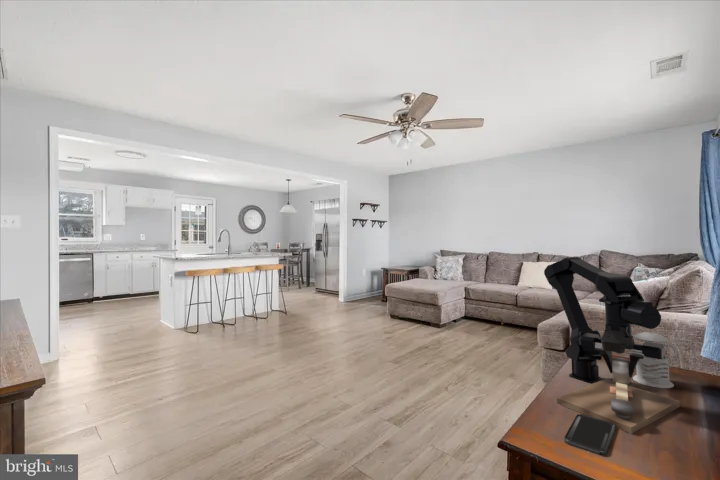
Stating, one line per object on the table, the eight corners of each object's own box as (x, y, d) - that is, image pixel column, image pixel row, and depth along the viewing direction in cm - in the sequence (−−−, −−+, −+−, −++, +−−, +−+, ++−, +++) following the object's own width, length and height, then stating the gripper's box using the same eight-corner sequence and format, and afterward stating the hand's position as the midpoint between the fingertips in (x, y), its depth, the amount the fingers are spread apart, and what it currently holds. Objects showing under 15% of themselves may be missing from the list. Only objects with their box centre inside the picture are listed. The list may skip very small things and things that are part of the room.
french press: (626, 374, 111) (623, 298, 111) (668, 376, 108) (665, 299, 108) (642, 386, 101) (638, 304, 102) (689, 389, 98) (685, 304, 98)
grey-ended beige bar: (634, 417, 79) (632, 384, 79) (611, 412, 82) (609, 380, 82) (631, 386, 95) (630, 359, 95) (612, 383, 98) (611, 356, 98)
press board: (557, 403, 93) (556, 394, 93) (606, 383, 104) (606, 375, 104) (631, 434, 77) (630, 423, 77) (679, 406, 89) (679, 397, 89)
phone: (563, 439, 75) (577, 413, 86) (563, 444, 75) (577, 417, 86) (606, 453, 69) (616, 423, 80) (606, 459, 69) (616, 428, 80)
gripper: (571, 320, 97) (574, 374, 97) (656, 331, 83) (659, 394, 83) (583, 314, 104) (586, 364, 104) (663, 323, 90) (667, 381, 90)
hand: (621, 374), depth 95 cm, fingers closed on grey-ended beige bar, 4 cm apart
